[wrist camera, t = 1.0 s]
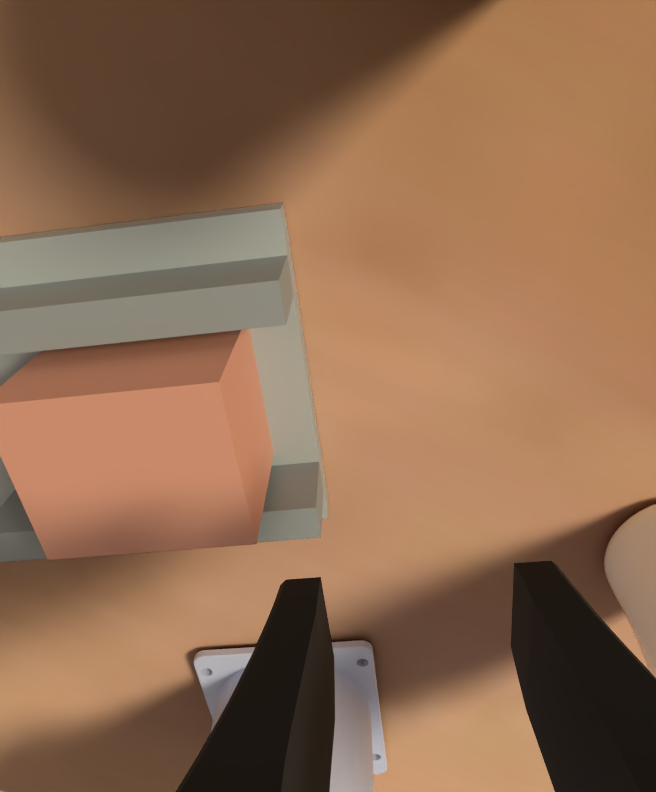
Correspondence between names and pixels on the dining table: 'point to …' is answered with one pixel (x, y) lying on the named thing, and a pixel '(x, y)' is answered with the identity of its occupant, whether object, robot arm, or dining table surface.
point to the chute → (171, 329)
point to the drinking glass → (636, 577)
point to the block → (139, 445)
